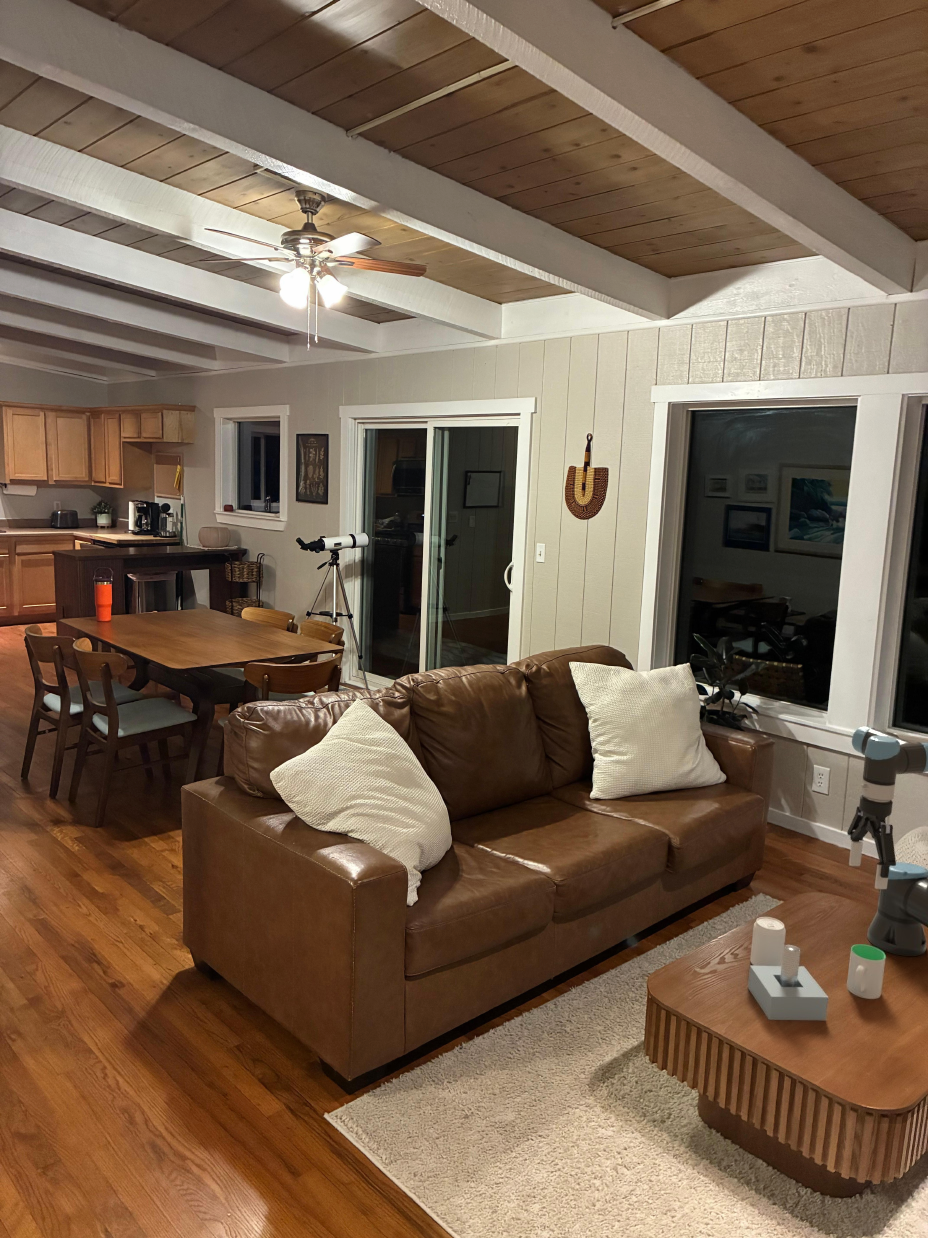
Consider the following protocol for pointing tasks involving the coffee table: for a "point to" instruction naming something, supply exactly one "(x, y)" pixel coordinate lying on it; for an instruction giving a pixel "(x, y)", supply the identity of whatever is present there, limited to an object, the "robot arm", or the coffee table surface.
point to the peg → (789, 966)
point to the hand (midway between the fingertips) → (867, 876)
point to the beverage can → (767, 942)
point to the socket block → (787, 995)
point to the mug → (866, 971)
